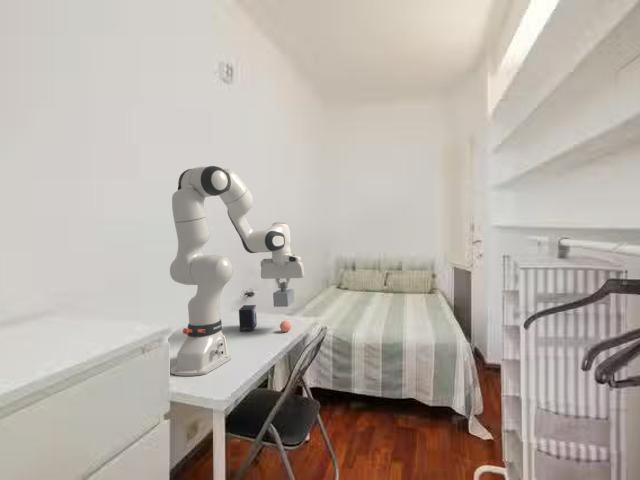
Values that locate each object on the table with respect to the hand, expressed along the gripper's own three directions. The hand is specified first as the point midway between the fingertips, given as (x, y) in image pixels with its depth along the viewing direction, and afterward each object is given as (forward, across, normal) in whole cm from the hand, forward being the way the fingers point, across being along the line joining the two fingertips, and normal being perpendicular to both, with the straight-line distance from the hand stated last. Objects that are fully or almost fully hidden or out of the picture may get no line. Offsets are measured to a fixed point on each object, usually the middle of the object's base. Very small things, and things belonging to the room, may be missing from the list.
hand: (283, 288), depth 169 cm
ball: (+17, +1, -1) cm, 17 cm away
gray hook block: (+8, 0, +1) cm, 8 cm away
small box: (+20, -19, +4) cm, 28 cm away
